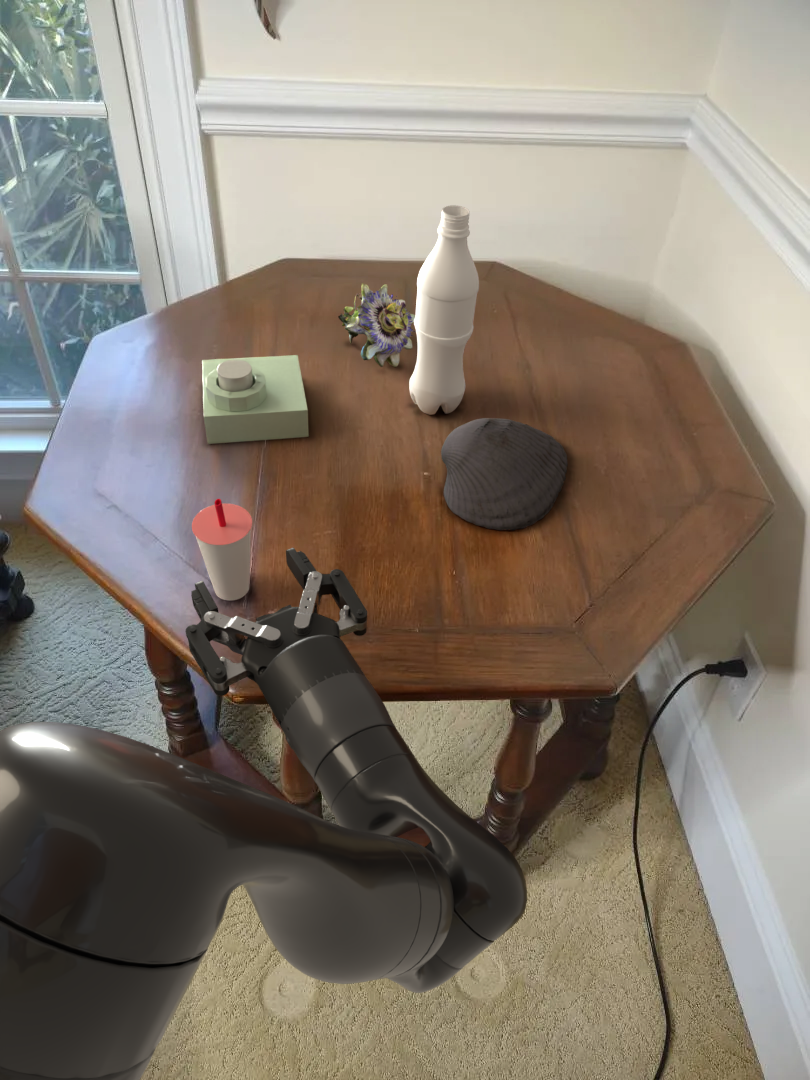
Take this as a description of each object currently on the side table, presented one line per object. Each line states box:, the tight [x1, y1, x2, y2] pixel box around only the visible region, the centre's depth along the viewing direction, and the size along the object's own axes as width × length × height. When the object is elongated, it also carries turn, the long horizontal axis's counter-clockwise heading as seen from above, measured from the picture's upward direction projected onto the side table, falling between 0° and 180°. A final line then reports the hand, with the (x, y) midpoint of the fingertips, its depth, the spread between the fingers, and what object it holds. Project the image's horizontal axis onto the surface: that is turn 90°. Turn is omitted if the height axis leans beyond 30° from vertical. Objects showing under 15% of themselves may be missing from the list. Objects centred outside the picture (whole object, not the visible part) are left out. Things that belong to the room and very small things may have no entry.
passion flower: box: [338, 283, 416, 368], centre depth 105 cm, size 11×11×12 cm
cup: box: [191, 498, 253, 601], centre depth 72 cm, size 5×5×12 cm
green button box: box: [201, 354, 310, 445], centre depth 94 cm, size 12×12×6 cm
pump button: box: [217, 360, 253, 392], centre depth 90 cm, size 4×4×2 cm
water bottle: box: [408, 204, 480, 415], centre depth 91 cm, size 7×7×25 cm
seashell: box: [440, 417, 568, 531], centre depth 88 cm, size 14×19×8 cm
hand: (245, 571), depth 68 cm, fingers open, 8 cm apart
